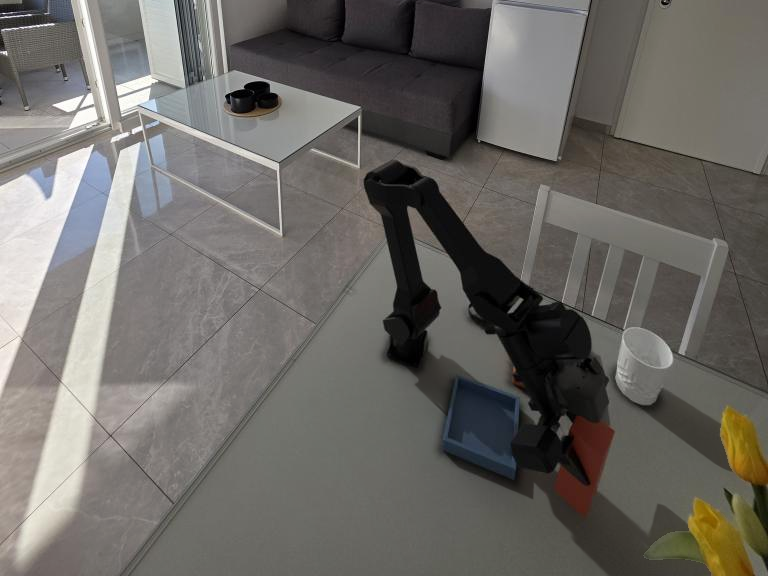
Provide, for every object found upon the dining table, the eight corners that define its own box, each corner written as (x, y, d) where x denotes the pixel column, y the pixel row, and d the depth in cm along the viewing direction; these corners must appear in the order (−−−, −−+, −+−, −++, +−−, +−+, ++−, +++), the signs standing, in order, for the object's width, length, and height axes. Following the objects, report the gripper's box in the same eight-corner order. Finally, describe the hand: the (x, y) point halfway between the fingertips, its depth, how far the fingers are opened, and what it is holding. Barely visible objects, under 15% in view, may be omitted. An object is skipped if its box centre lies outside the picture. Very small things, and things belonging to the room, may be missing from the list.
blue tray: (442, 450, 69) (443, 439, 68) (455, 383, 79) (456, 373, 78) (514, 480, 65) (516, 469, 65) (517, 406, 75) (519, 396, 75)
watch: (501, 309, 94) (503, 296, 93) (505, 328, 90) (507, 315, 89) (466, 306, 95) (468, 293, 94) (468, 324, 90) (470, 311, 89)
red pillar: (553, 490, 63) (569, 430, 58) (566, 464, 66) (581, 405, 61) (585, 519, 60) (603, 458, 55) (596, 490, 63) (615, 430, 58)
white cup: (667, 414, 75) (681, 373, 72) (619, 403, 76) (630, 363, 73) (650, 370, 82) (662, 331, 79) (606, 361, 84) (616, 323, 80)
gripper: (545, 407, 51) (625, 552, 48) (600, 314, 64) (667, 422, 60) (482, 402, 59) (546, 527, 55) (542, 320, 72) (598, 416, 68)
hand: (593, 469), depth 60 cm, fingers closed on red pillar, 4 cm apart
